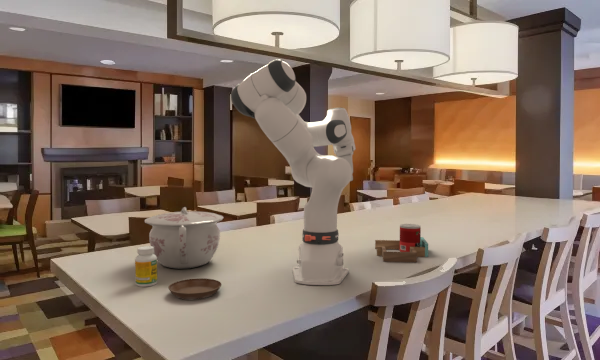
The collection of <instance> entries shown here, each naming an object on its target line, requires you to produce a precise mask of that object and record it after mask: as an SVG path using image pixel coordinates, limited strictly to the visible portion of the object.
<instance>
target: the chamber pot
mask: <svg viewBox="0 0 600 360" xmlns="http://www.w3.org/2000/svg"><path fill="white" fill-rule="evenodd" d="M224 218H225V217H224V216H223V215H222V214H217V213H214V212H210V211H209V212H208V211H198V210H197V211H196V210H195V211H194V210H193V211H192V210H191V211H190V210H189V211H188V210H187V207H186V206H184V207H182V208H181V210H180V211H174V212H172V211H171V212H165V213H161V214H156V215H152V216H150V217H146V219H144V223H145V224H147V225H149V226H152V228H151V229H150V231H149V233H148V234H149V235H148V237H149V245H150V246H152V247H154V253H153V254H154V255H156V257H157V263H158V264H160V265H162V266H164V267H165V268H169V269H175V270H184V269H185V270H187V269H193V268H198V267H202V266H205V265H206V264H208V263H209V262H210V261H211V260H212V258H213V257H214V255H215V254H216V252H217V250H218V248H219V245H220V239H221V238H220V237H221V230H220V228H219V226H218V225H217V224H218V222H220V221H223V219H224Z"/></svg>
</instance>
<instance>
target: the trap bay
mask: <svg viewBox="0 0 600 360" xmlns="http://www.w3.org/2000/svg"><path fill="white" fill-rule="evenodd" d="M381 258H382V262H384V263H385V262H387V263H389V262H390V263H391V262H392V263H417V262H418V260H417V258H418V257H417V252H416V251H415V249H414V248H413V247H410V252H400V251H392V250H391V251H390V250H388V251H387V249H385V247H382V256H381Z"/></svg>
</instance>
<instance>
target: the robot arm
mask: <svg viewBox="0 0 600 360" xmlns="http://www.w3.org/2000/svg"><path fill="white" fill-rule="evenodd" d="M230 97H231V98H230V99H231V102H232V105H233V106H234V108H235V110H237V111H238V112H239V113H240V114H242V115H243V116H246V117H250V118H252V119H255V121H256V122H257V124H258V126H259V128H260V129H261V130H262V132H263V133H264V134H265V136H266V137H267V138H268V139H269V141H270V142H271V143H272V144H273V145H274V146H275V148H277V150H278V151H279V152H280V153H281V154H282V156H283V157H284V158H285V160H286V162H287V164H288V165H289V167H290V168H291V169H290V173H291V176H292V178H293V180H294V181H295V182H296V183H297V184H300V185H301V186H304V187H306V188H312V189H311V194H310V196H309V200H308V201H307V202H306V203H305V204H304V205H303V229H302V233H301V236H302V238H301V239H302V242H301V244H300V245H298V258H297V260H296V263H297V264H298V266H292V270H291V271H292V275H293V278H294V282H295V283H296V284H300V285H309V286H310V285H311V286H331V285H333V286H334V285H340V284H341V283H342V282H343V280H344V279H345V278H346V276H347V275H348V274H349V273H350V271H349V270H350V269H349V268H348V267H344V250H343V246H342V245H341V244H340V243H339V230H338V208H339V207H338V206H339V202H340V199H341V195H342V192H343V190H344V189H345V188H346V187H347V186H348V184H350V182H352V181H353V180H354V176H353V173H354V163H353V155H354V154H355V153H354V152H355V151H356V144H355V138H354V135H353V133H352V125H351V124H352V123H351V119H350V116H349V113H348V111H347V109H346V108H344V107H333V108H329V109H328V110H327V111H326V117H325V118H324V119H323V120H320V121H319V120H318V121H311V122H308V121H304V119H303V118H302V117H301V115H300V113H302V111H303V109H304V108H305V106H306V103H307V93H306V91H305V89H304V88H303V87H302V86H301V85H300V84H299V83H298V82H297V78H296V74H295V72H294V70H293V68H292V66H291V65H290V64H289V63H288V62H287V61H286V60H284V59H279V58H276V59H273V60H271V61H269V62H268V64H266V65H264V66H262V67H261V68H259V69H257V70H256V71H254V72H252V73H250V74H249V75H248V76H247V77H246V78H244V79H243V80H242V81H241V82H240V83H238V84H237V85H236V86H234V88H233V89H232V90H231V93H230ZM325 146H332V149H333V153H334V154H333V155H331V154H330V155H329V154H328V155H327V154H326V155H325V154H321V153H319V152H318V151H316V149H315V148H316V147H325Z"/></svg>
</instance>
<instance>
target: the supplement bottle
mask: <svg viewBox="0 0 600 360" xmlns="http://www.w3.org/2000/svg"><path fill="white" fill-rule="evenodd" d="M136 252H137V254H138V255H136V257H135V258H134V266H135V267H134V268H135V269H134V270H135V285H136V286H137V287H140V288H146V287H152V286H155V285H156V284H157V283H158V260H157V257H156V255H154V254H153V253H154V247H152V246H151V245H150V246H149V245H145V246H140V247H137V251H136Z"/></svg>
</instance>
